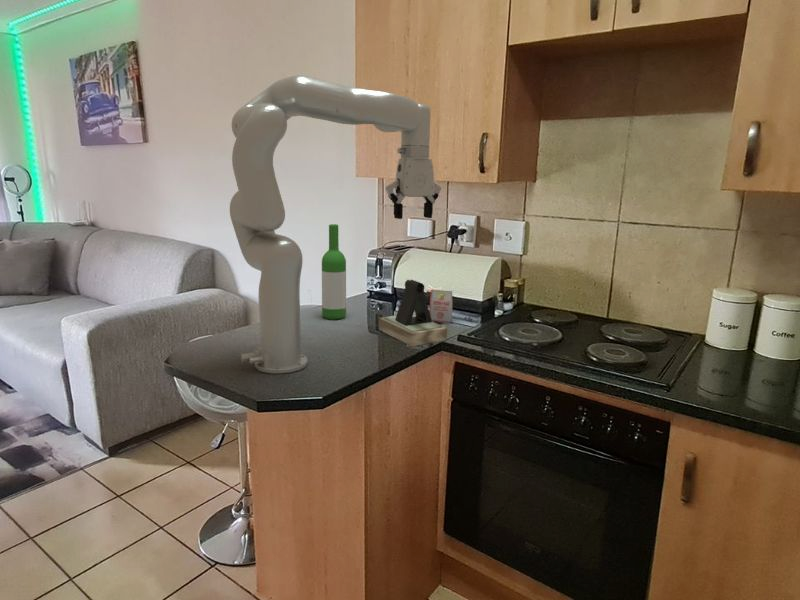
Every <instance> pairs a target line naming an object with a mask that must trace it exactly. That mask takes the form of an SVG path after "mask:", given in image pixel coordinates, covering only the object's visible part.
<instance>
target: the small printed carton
mask: <svg viewBox="0 0 800 600" xmlns="http://www.w3.org/2000/svg"><path fill="white" fill-rule="evenodd" d="M453 305H454V303H453V291H452V290H444V289H443V290H441V289H430V298H429V312H430V316H431V319H432V322H438V323H439V322H440V323H449V324H451V321H452V320H453Z"/></svg>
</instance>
